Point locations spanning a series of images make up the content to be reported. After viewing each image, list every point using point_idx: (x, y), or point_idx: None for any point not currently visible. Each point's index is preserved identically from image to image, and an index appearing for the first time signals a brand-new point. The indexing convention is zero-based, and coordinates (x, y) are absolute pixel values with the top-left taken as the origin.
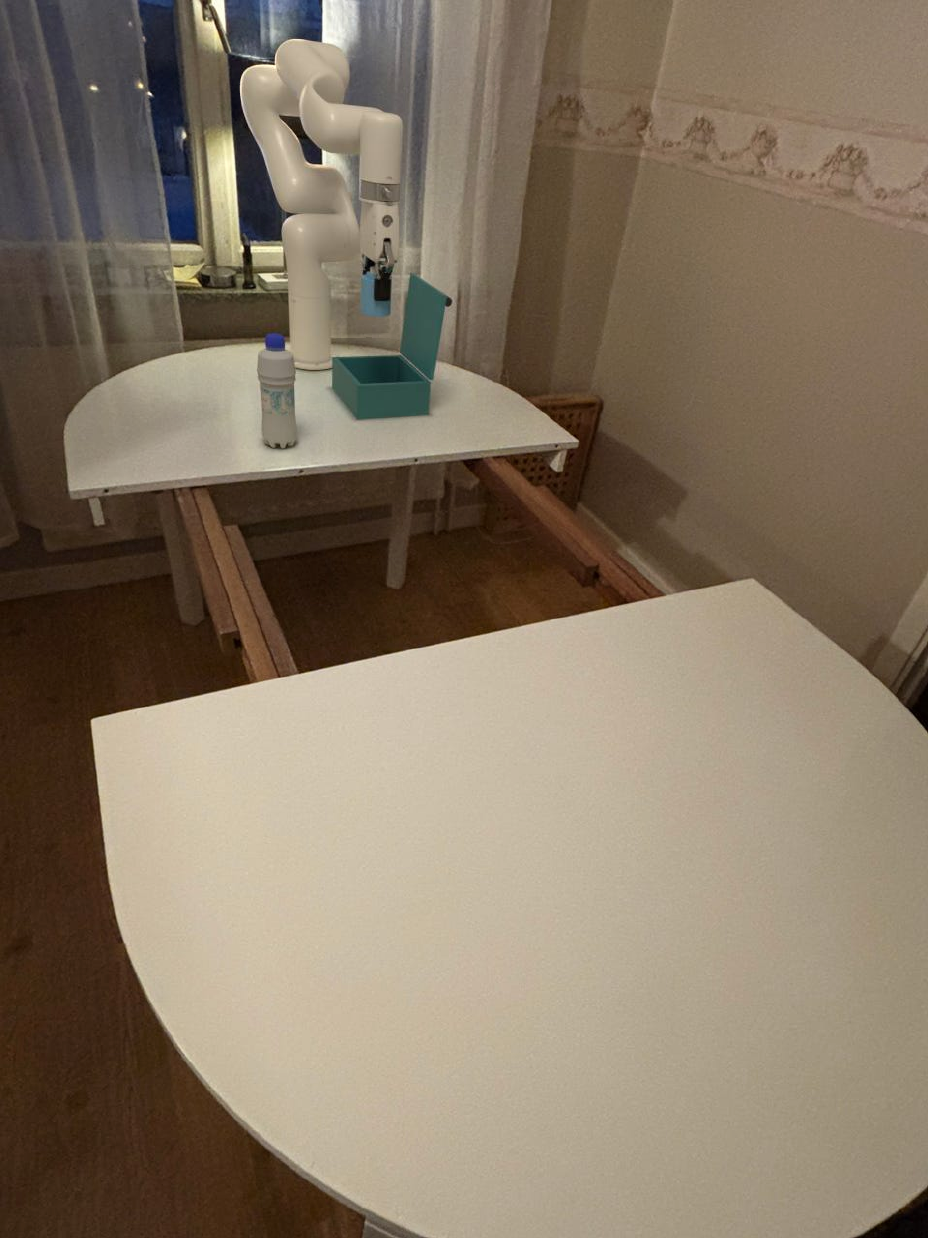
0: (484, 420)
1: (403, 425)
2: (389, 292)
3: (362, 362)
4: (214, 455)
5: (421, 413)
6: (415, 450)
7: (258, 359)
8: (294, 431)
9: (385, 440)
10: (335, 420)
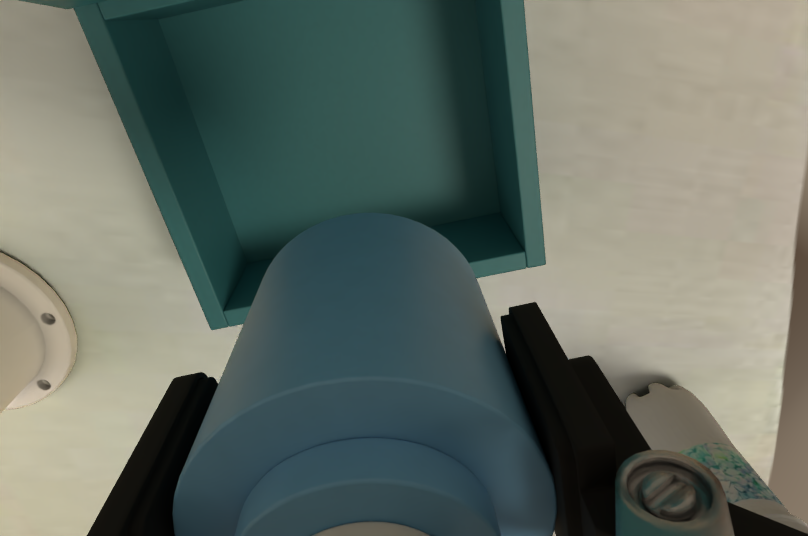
0: None
1: (579, 63)
2: (556, 346)
3: (189, 204)
4: None
5: None
6: (790, 56)
7: None
8: (701, 405)
9: (690, 147)
10: (517, 279)
